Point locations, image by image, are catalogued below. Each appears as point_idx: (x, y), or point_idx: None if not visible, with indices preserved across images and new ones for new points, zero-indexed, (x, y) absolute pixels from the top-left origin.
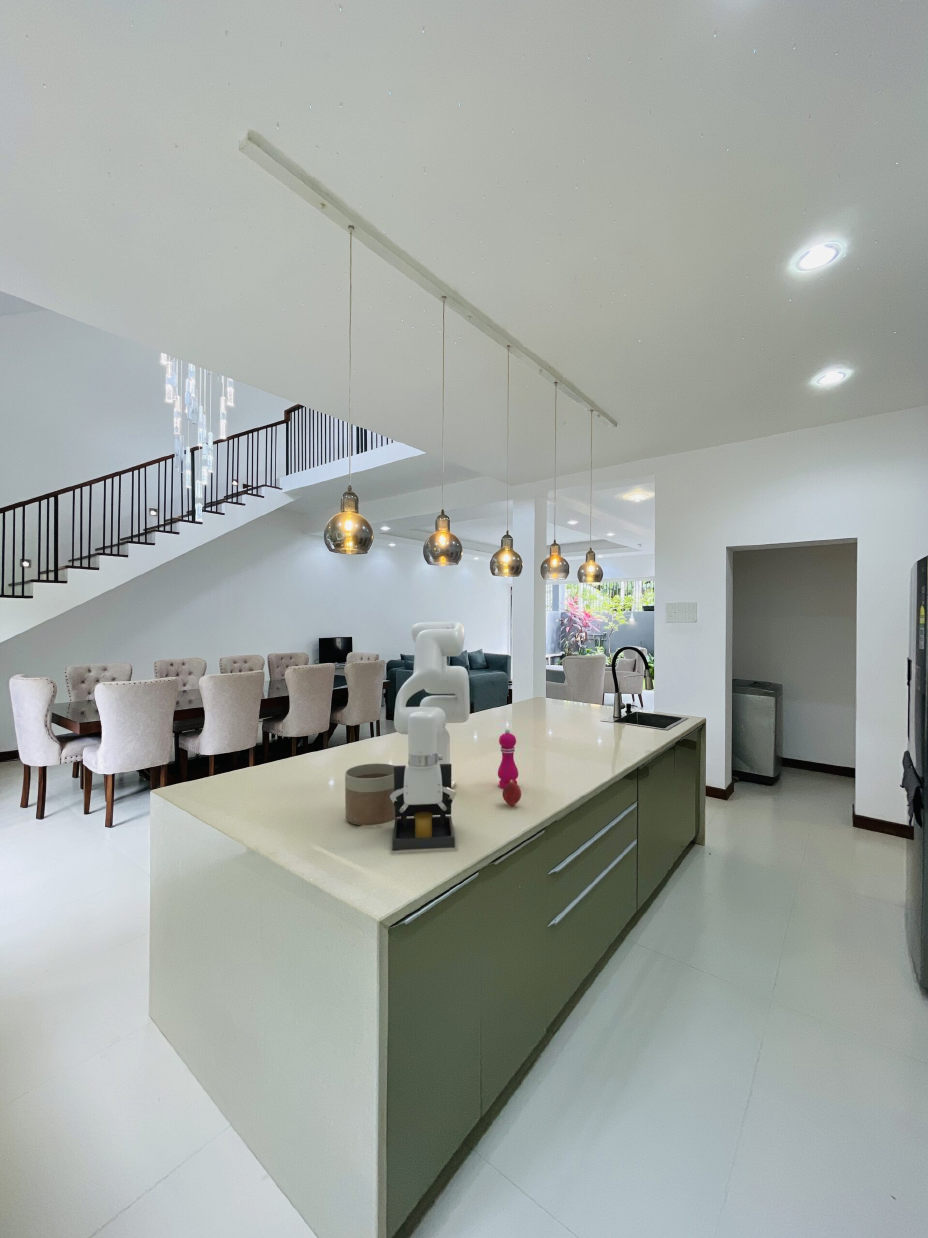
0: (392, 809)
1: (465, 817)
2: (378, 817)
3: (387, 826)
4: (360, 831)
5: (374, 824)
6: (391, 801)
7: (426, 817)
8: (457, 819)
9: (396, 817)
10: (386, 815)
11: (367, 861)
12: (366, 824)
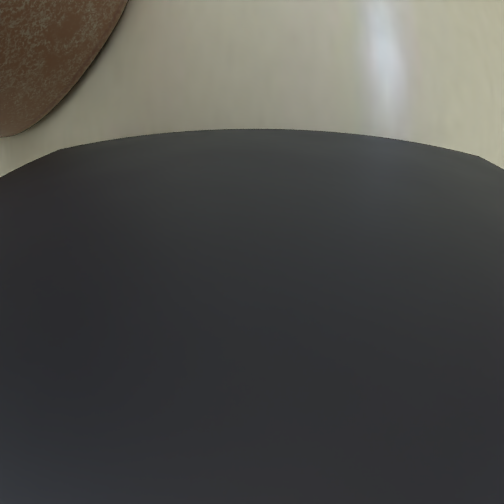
0: (53, 48)
1: (488, 58)
2: (16, 120)
3: (77, 109)
4: (6, 171)
5: (27, 128)
6: (12, 43)
7: None
8: (459, 64)
9: (109, 31)
10: (41, 90)
11: None
12: (6, 136)
